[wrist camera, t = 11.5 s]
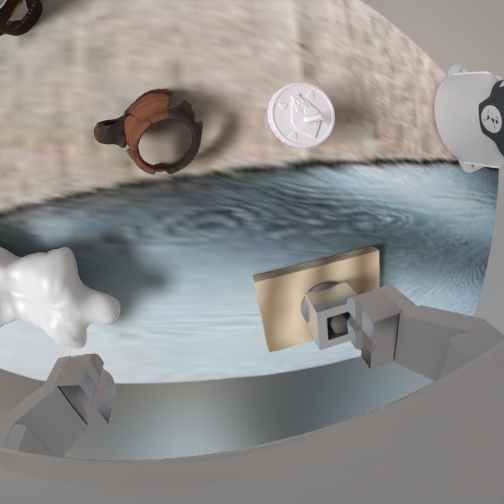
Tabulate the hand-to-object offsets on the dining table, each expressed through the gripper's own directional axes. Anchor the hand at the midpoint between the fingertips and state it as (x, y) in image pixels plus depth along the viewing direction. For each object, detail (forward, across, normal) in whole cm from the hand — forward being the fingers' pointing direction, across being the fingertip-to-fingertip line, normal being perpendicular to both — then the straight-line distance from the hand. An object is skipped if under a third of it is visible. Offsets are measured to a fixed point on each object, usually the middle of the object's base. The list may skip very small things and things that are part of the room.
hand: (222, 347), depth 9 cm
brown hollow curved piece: (+29, +5, -9) cm, 31 cm away
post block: (+29, -12, +18) cm, 36 cm away
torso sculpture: (+30, +28, +5) cm, 41 cm away
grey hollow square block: (+26, -12, +18) cm, 34 cm away
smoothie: (+29, -10, -7) cm, 32 cm away
